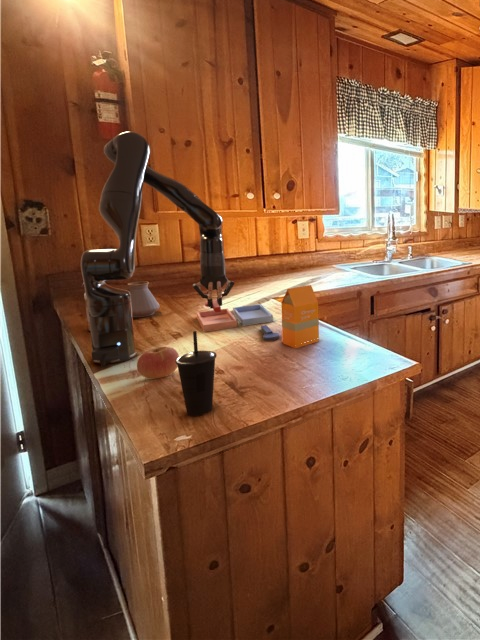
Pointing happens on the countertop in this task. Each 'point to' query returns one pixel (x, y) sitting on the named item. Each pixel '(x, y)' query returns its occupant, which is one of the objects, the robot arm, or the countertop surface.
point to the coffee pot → (141, 299)
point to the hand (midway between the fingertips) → (215, 307)
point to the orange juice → (300, 317)
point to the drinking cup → (197, 379)
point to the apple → (157, 362)
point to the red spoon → (215, 306)
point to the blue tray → (252, 314)
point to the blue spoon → (269, 334)
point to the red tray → (216, 320)
